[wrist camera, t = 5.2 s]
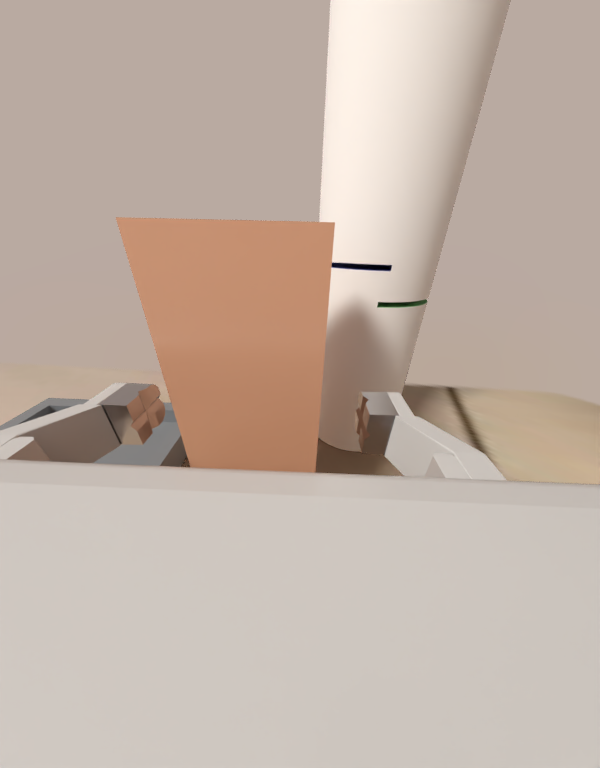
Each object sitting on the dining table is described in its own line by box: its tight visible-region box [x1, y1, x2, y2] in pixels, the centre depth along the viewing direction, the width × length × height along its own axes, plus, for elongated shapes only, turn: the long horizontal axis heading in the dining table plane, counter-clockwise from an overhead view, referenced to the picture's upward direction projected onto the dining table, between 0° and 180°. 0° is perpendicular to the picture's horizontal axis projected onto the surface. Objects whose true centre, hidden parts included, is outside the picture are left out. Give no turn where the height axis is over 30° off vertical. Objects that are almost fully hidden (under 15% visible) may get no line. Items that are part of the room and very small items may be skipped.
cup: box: [116, 217, 335, 473], centre depth 11 cm, size 5×5×14 cm
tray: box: [0, 398, 187, 467], centre depth 15 cm, size 13×12×2 cm
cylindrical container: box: [318, 0, 511, 451], centre depth 15 cm, size 7×7×25 cm
